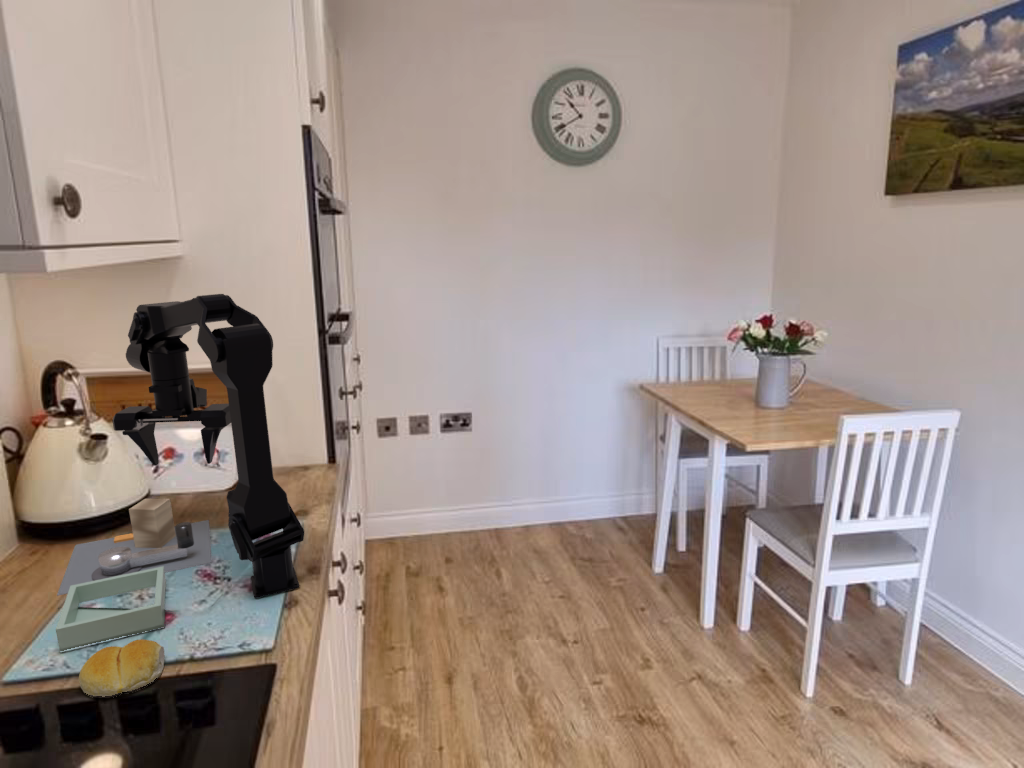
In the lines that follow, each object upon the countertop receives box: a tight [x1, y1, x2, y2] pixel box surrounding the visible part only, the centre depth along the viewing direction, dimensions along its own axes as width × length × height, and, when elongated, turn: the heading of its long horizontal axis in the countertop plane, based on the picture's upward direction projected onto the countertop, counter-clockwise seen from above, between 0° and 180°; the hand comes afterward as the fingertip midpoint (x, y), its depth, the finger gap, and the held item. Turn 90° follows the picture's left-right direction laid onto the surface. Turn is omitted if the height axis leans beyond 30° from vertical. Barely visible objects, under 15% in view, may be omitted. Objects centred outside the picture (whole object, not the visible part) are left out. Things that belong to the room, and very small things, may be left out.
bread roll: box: [78, 638, 166, 697], centre depth 80 cm, size 8×9×4 cm
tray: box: [55, 566, 167, 652], centre depth 92 cm, size 12×12×4 cm
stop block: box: [128, 498, 176, 548], centre depth 112 cm, size 4×4×7 cm
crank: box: [98, 521, 194, 575], centre depth 105 cm, size 13×4×5 cm, turn 116°
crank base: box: [56, 519, 213, 597], centre depth 109 cm, size 18×21×1 cm
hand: (183, 463), depth 114 cm, fingers open, 9 cm apart
